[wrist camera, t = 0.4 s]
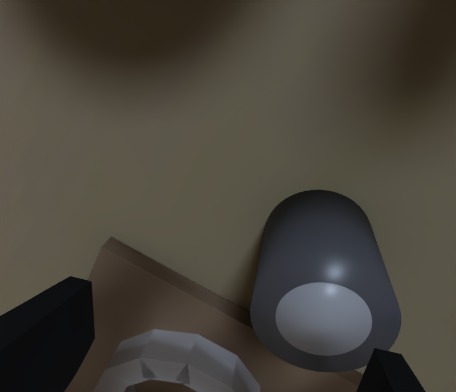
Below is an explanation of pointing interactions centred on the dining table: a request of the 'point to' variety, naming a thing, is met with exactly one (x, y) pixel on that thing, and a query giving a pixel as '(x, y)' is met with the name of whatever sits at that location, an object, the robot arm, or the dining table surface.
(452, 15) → the dining table surface
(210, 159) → the dining table surface
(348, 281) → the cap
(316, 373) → the collar
